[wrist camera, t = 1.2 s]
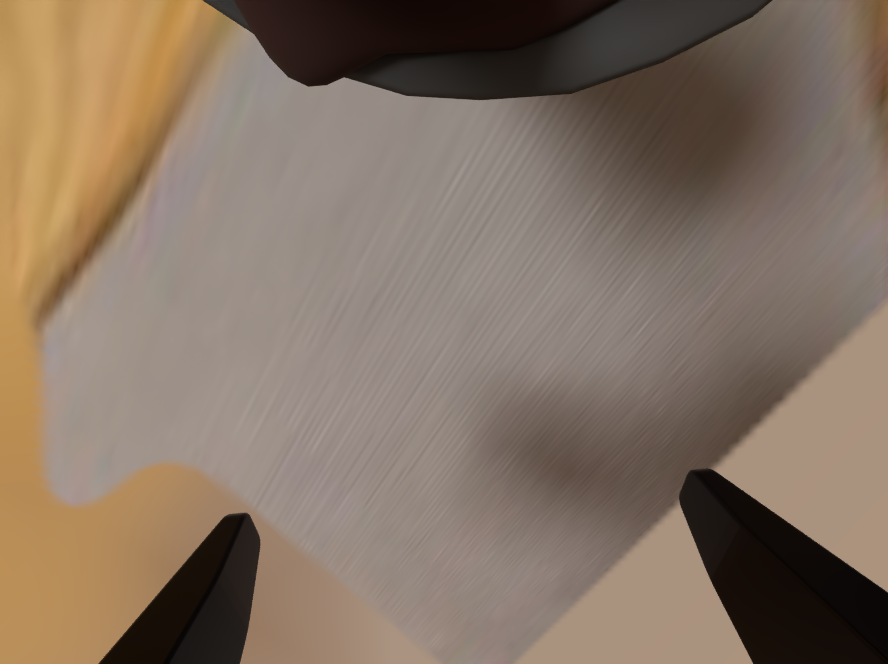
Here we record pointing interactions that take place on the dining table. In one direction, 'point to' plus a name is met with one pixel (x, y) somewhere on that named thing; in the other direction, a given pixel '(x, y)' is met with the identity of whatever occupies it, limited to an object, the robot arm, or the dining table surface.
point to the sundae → (479, 41)
